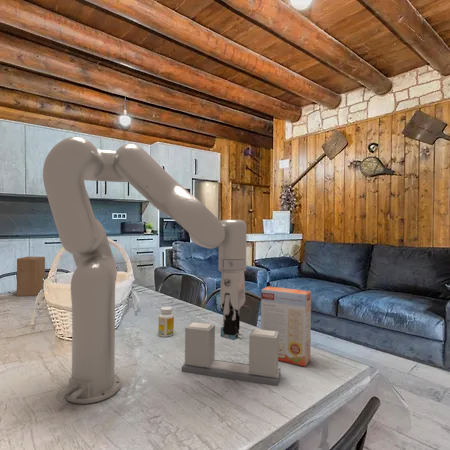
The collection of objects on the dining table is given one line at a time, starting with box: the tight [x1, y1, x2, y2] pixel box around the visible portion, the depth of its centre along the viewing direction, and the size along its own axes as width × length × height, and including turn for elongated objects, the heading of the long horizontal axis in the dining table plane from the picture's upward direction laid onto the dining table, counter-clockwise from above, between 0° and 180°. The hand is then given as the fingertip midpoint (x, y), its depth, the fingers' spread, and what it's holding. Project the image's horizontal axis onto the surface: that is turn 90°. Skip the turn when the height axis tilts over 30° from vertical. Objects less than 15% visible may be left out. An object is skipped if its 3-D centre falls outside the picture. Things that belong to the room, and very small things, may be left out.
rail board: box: [181, 321, 281, 387], centre depth 86 cm, size 7×26×12 cm, turn 74°
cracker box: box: [260, 285, 312, 367], centre depth 95 cm, size 14×6×21 cm, turn 59°
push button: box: [219, 302, 243, 341], centre depth 85 cm, size 7×5×10 cm
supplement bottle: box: [158, 306, 175, 338], centre depth 113 cm, size 5×5×10 cm
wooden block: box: [16, 256, 46, 297], centre depth 171 cm, size 10×10×20 cm
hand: (231, 331), depth 86 cm, fingers closed on push button, 3 cm apart
